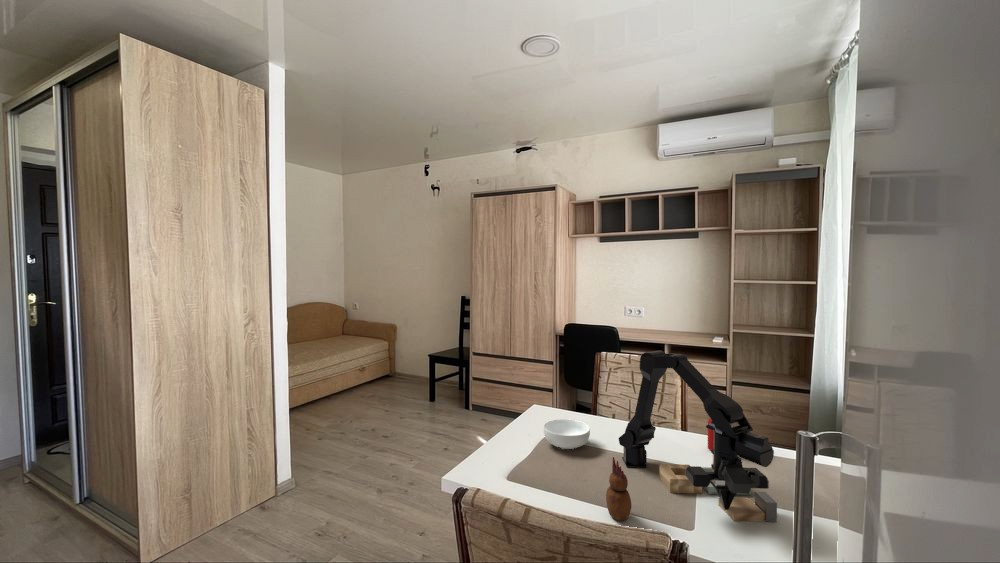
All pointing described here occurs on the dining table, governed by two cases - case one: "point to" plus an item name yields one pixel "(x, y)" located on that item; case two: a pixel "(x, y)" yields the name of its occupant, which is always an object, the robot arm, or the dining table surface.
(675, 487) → the socket block
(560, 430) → the cereal bowl
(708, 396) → the robot arm
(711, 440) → the beverage can
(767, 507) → the grey rectangular block
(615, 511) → the wooden figurine
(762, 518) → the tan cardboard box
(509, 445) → the dining table surface
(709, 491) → the tray
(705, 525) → the dining table surface
